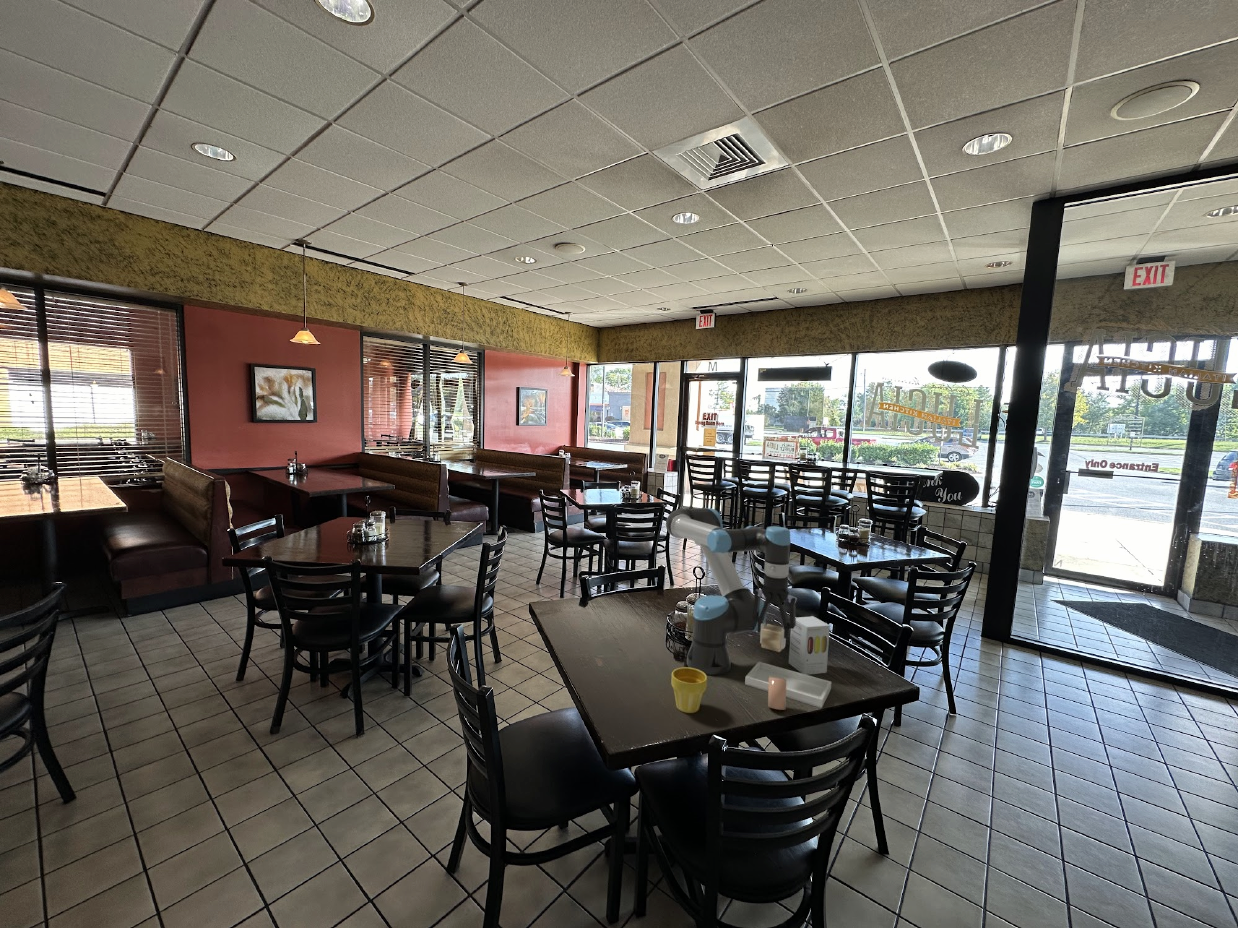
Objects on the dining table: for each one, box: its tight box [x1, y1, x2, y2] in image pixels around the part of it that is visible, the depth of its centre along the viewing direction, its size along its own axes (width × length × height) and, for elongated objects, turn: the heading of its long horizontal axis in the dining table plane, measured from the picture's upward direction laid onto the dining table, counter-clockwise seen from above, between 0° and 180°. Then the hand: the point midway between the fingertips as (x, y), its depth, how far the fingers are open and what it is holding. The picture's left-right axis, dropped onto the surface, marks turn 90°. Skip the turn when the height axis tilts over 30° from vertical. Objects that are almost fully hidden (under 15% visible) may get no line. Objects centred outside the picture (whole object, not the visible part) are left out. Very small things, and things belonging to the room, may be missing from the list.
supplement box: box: [788, 615, 831, 675], centre depth 176 cm, size 10×9×17 cm
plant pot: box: [670, 666, 708, 714], centre depth 149 cm, size 10×10×10 cm
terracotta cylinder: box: [767, 677, 787, 711], centre depth 150 cm, size 5×5×8 cm
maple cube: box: [760, 623, 784, 653], centre depth 165 cm, size 6×6×6 cm
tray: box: [744, 661, 832, 709], centre depth 163 cm, size 24×14×3 cm, turn 57°
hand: (772, 644), depth 165 cm, fingers closed on maple cube, 6 cm apart
